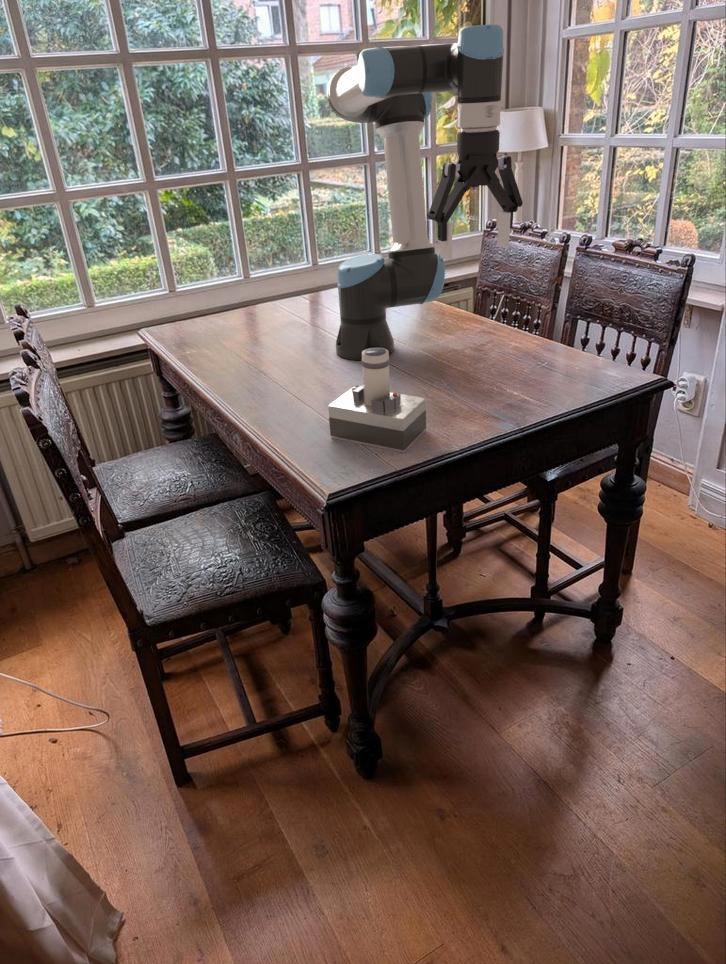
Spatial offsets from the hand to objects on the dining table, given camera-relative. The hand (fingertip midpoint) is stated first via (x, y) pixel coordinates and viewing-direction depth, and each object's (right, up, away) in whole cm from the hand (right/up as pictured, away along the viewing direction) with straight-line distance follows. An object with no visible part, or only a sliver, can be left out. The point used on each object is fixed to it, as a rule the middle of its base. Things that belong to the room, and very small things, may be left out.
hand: (475, 252), depth 132 cm
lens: (-19, -29, 0) cm, 35 cm away
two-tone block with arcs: (-19, -35, +3) cm, 40 cm away
